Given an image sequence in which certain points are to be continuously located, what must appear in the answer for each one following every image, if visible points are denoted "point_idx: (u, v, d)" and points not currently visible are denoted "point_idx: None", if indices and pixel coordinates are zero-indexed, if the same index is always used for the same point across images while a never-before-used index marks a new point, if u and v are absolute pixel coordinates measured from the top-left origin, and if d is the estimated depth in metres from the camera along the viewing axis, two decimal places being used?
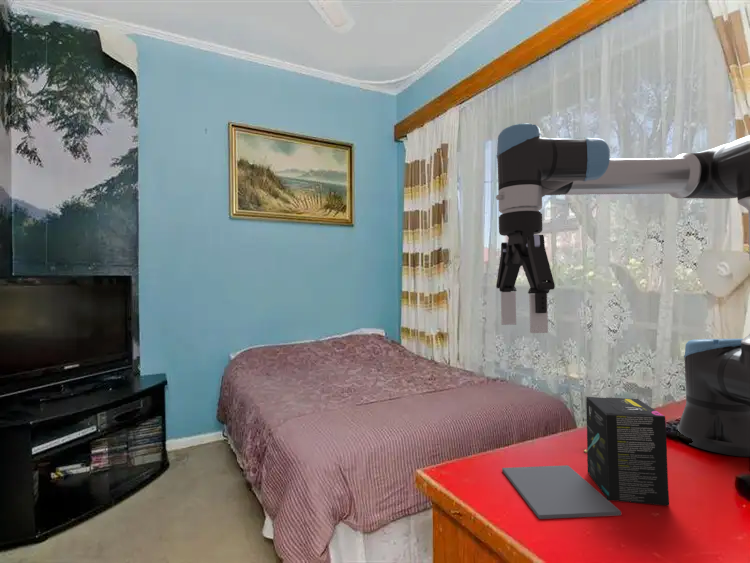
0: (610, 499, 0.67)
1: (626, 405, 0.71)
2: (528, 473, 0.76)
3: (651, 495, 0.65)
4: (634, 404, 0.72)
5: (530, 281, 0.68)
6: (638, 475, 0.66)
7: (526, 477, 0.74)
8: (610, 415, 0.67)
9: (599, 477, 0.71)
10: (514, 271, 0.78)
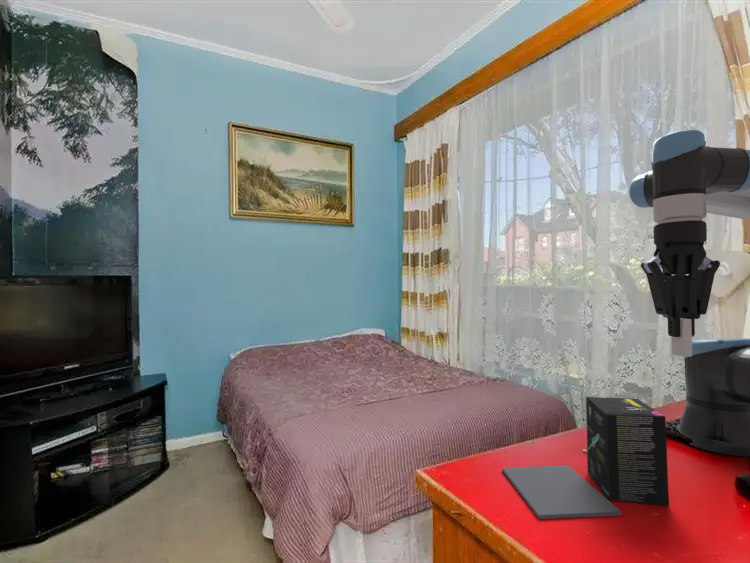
0: (610, 499, 0.67)
1: (626, 405, 0.71)
2: (528, 473, 0.76)
3: (651, 495, 0.65)
4: (634, 404, 0.72)
5: None
6: (638, 475, 0.66)
7: (526, 477, 0.74)
8: (610, 415, 0.67)
9: (599, 477, 0.71)
10: (685, 287, 0.71)
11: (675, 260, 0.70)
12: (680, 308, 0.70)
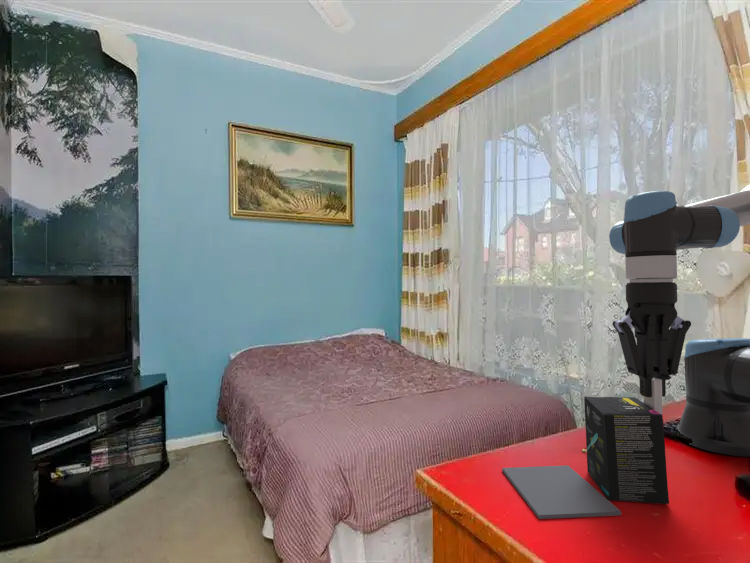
0: (610, 499, 0.67)
1: (624, 404, 0.71)
2: (528, 473, 0.76)
3: (650, 494, 0.65)
4: (632, 403, 0.72)
5: None
6: (637, 474, 0.66)
7: (526, 477, 0.74)
8: (608, 415, 0.67)
9: (599, 477, 0.71)
10: (656, 346, 0.71)
11: (646, 320, 0.70)
12: (651, 368, 0.70)
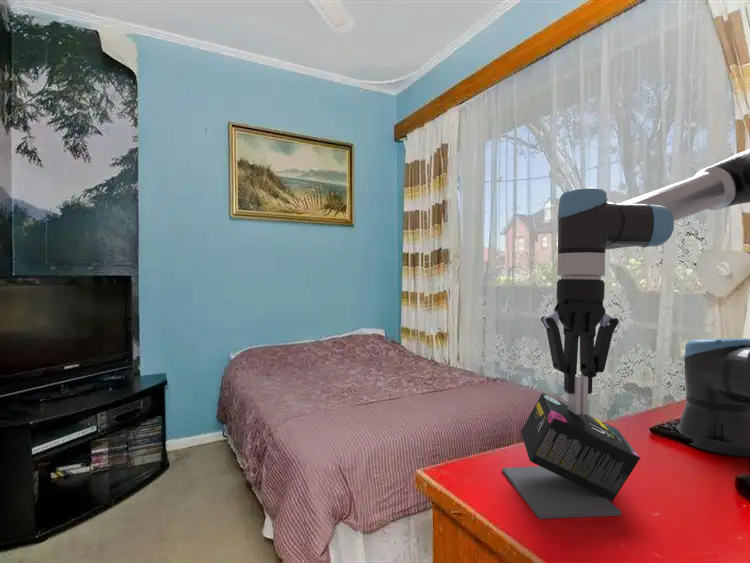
0: (612, 499, 0.67)
1: (537, 423, 0.72)
2: (528, 473, 0.76)
3: (623, 467, 0.65)
4: (540, 412, 0.73)
5: None
6: (599, 467, 0.66)
7: (526, 477, 0.74)
8: (532, 458, 0.68)
9: None
10: (584, 343, 0.71)
11: (573, 317, 0.70)
12: (575, 365, 0.70)
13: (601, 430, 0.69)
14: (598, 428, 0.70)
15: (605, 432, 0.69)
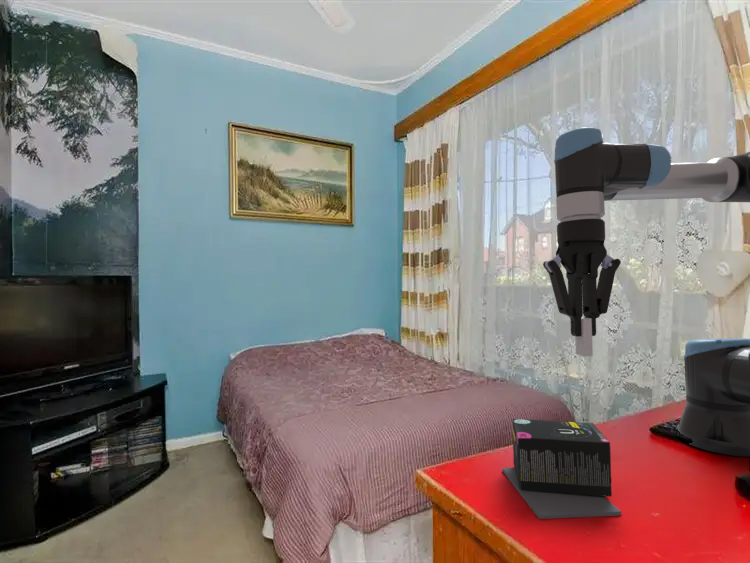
0: (610, 494, 0.67)
1: (515, 449, 0.75)
2: None
3: (600, 458, 0.67)
4: (514, 438, 0.76)
5: None
6: (580, 467, 0.67)
7: None
8: (520, 485, 0.70)
9: None
10: (586, 285, 0.71)
11: (575, 259, 0.70)
12: (580, 307, 0.70)
13: (570, 431, 0.72)
14: (567, 430, 0.72)
15: (575, 431, 0.72)
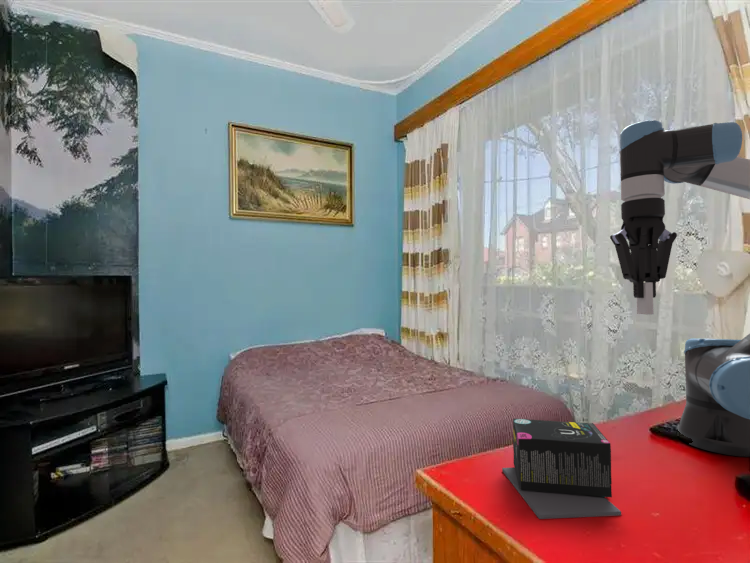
0: (610, 495, 0.67)
1: (515, 449, 0.75)
2: None
3: (601, 459, 0.67)
4: (514, 438, 0.76)
5: None
6: (581, 468, 0.67)
7: None
8: (520, 486, 0.70)
9: None
10: (648, 255, 0.83)
11: (639, 232, 0.82)
12: (643, 273, 0.83)
13: (571, 431, 0.72)
14: (568, 431, 0.72)
15: (575, 432, 0.71)
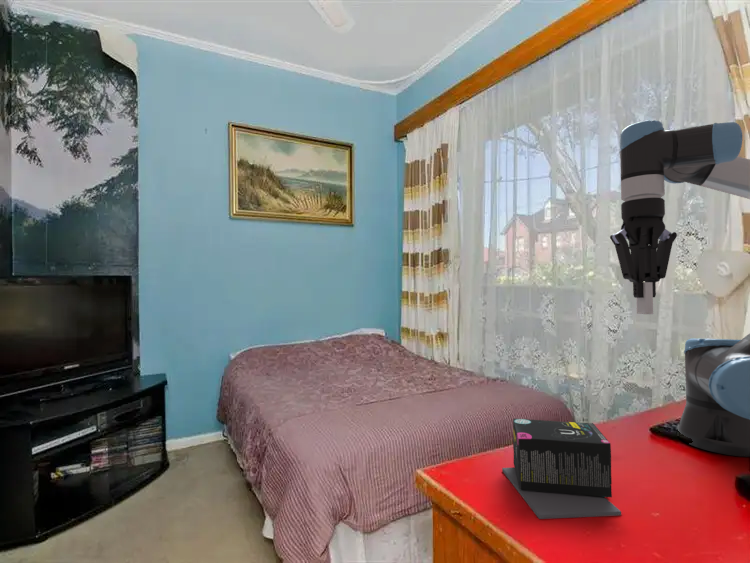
0: (610, 495, 0.67)
1: (515, 449, 0.75)
2: None
3: (601, 459, 0.67)
4: (514, 438, 0.76)
5: None
6: (581, 468, 0.67)
7: None
8: (520, 485, 0.70)
9: None
10: (647, 255, 0.84)
11: (639, 232, 0.82)
12: (643, 273, 0.83)
13: (571, 431, 0.72)
14: (568, 431, 0.72)
15: (575, 432, 0.71)
